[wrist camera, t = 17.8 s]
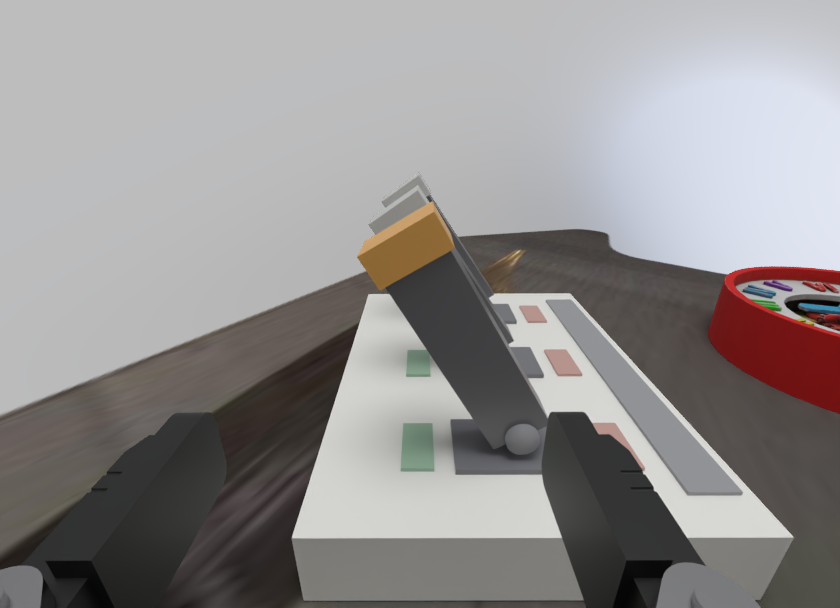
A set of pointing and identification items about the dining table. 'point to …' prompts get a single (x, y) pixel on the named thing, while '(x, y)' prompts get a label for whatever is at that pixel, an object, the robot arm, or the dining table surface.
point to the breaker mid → (418, 200)
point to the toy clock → (783, 329)
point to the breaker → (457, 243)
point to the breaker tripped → (456, 327)
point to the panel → (498, 470)
